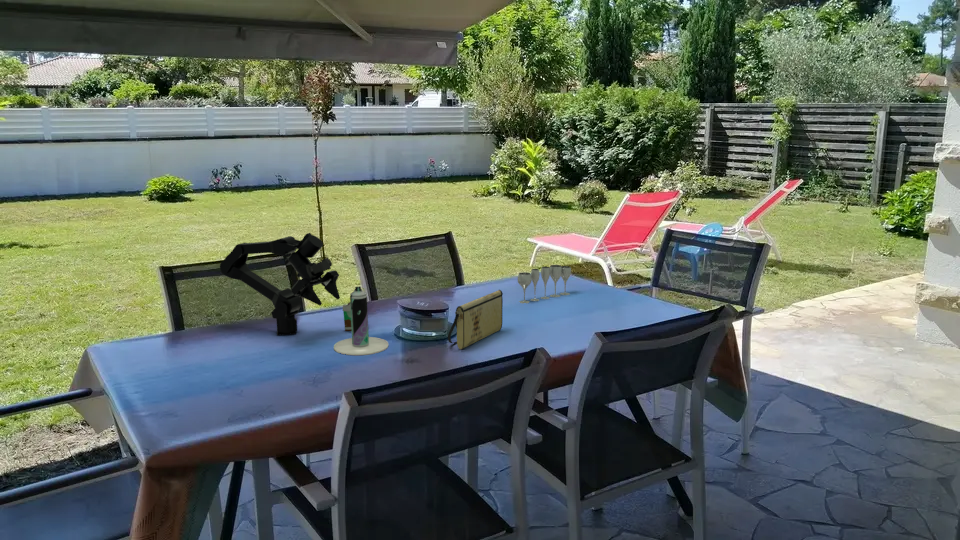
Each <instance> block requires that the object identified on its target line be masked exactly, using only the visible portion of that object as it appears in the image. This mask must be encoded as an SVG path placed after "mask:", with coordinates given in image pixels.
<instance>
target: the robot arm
mask: <svg viewBox="0 0 960 540" xmlns="http://www.w3.org/2000/svg"><path fill="white" fill-rule="evenodd" d="M323 246H324V243H323V241H322V240H321V238H319V237H318V236H316V235H313V234H312V233H311V232H307V233H306V234H305V235H304V237H303V238H302V239H301V240H298V239H296V238H295V237H294V236H289V235H288V236H285V237H282V238H278V239H275V240H271V241H260V242H259V241H257V242H243V243H237V244H236V245H235V246H234V248H233V249H232V251H230V252H229V253H228V255H226V256H225V258H224V260H222V261H221V262H220V265H219V269H220V274H222V275H223V276H225V277H228V278H229V279H233V280H236V281H237V280H238V281H241V282H242V283H244V284H245V285H247V286H248V287H250V288H251V289H253V290H255V291H256V292H257V293H259V294H261V295H262V296H263V297H265V298H266V299H268V300H270V301H271V302H272V304H273V307H274V309H273V310H272V311H271V313H270V314H271V317H272V318H273V319H276V336H287V335H288V336H290V335H296V334H297V331H298V321H297V320H298V319H297V317H296V316H295V315H296V314H298V313H299V311H300V308H301V307H302V300H301V298H303V299H304V300H305V299H306V300H307V301H310V302H312V303H314V304H316V305H318V306H322V304H323V303H322V301H321V299H320V298H319V295H317V293H316V292H315V290H314V287H315V286H317V285H320V284H321V286H322V287H324V290H325V291H326V292H327V293H329V294H330V295H331V296H333V297H334V299H336V300H340V299H341V297H340V293H339V290H338V287H337V280H338V279H339V276H340V274H339V272H338V270H334V269H333V270H331V267H332V266H333V262H332V261H331V259H329V258H328V257H326V258H325V257H324V259H321V261H319V262H311V261H310V259H312V258H314V257H315V256H316V254H318V252H319V251H320V250H321V249H322V248H323ZM267 253H268V254H273V255H277V256H285V255H288V254H290V255H289V256H286V257H285V258H284V260H285V261H284V265H285V266H289V265H291V266H292V267H293V268H294V270H295V271H296V272H297V274H296V277H297V278H298V280H297V281H296V282H295V283H294V285H293V286H292V287H291V288H290V287H289V288H285V289H283V290H281V289H280V288H278V287H277V286H275V285H274V284H272V283H270V282H268V281H267V280H266V279H264V278H263V277H261V276H259V275H258V274H257V273H255V272H254V271H253V270H250V268H249V265H248V264H247V262H248V258H249V255H254V254H255V255H257V254H267ZM309 258H310V259H309ZM327 270H330V271H327ZM326 271H327V272H326ZM299 278H301V279H299Z"/></svg>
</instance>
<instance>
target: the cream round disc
mask: <svg viewBox="0 0 960 540" xmlns="http://www.w3.org/2000/svg"><path fill="white" fill-rule="evenodd" d="M388 348H389V341H387V340H386V339H383V338H379V337H375V336H369V345H368V346H366V347H354V346H352V337H350V338H349V337H348V338H345V339H341V340H339V341H337V342H336V343H335V344H334V345H333V350H334V352H336V353H338V354H340V353H341V354H340V355H345V354H346V356H370V355H374V354H378V353H381V352H383V351H384V352H385V351H386V350H387V349H388Z"/></svg>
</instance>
